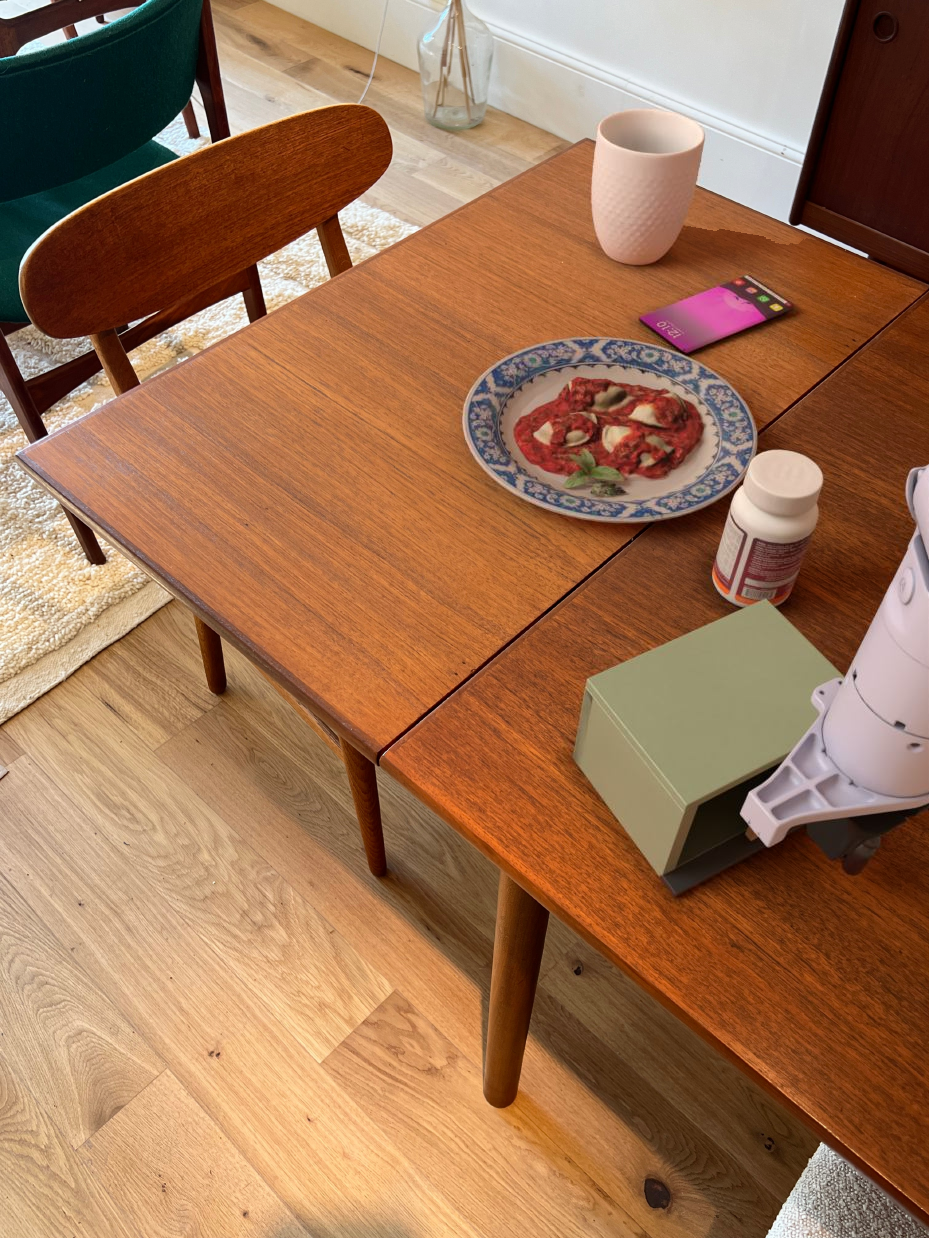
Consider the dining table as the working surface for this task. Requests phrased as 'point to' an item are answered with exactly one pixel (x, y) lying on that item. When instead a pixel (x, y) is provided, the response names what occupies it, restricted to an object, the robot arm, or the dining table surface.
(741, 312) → the smartphone
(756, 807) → the robot arm
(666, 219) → the mug
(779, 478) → the pill bottle
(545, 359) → the ceramic plate
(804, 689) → the cupboard
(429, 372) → the dining table surface
